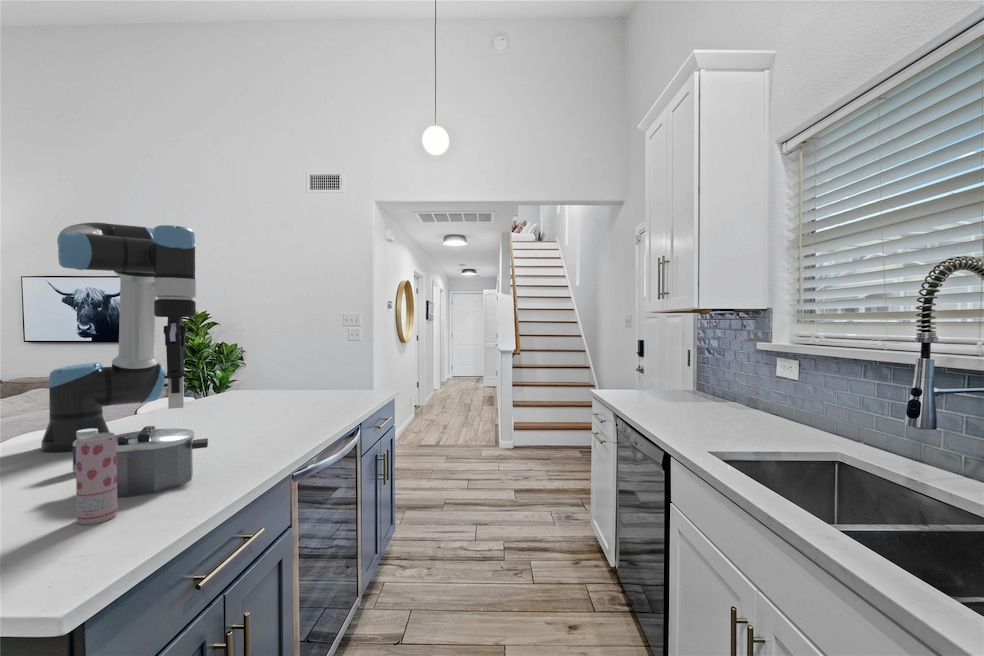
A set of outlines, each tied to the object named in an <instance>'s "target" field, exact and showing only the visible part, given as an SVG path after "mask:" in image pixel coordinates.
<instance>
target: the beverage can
mask: <svg viewBox="0 0 984 656" xmlns="http://www.w3.org/2000/svg"><path fill="white" fill-rule="evenodd" d="M115 435H116V434H115V433H113V432H110V433H95V434H89V435H84V436H80V437H78V438H77V443H76V473H75V481H76V482H75V484H76V485H75V487H76V488H75V489H76V490H75V492H76V495H75V496H76V497H75V499H76V522H77V523H78V524H80V525H84V526H85V525H95V524H99V523H104V522H106V521H109V520H111V519H113V518H115V516H116V515H118V512H119V511H118V497H117V460H116V438H115Z"/></svg>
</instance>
